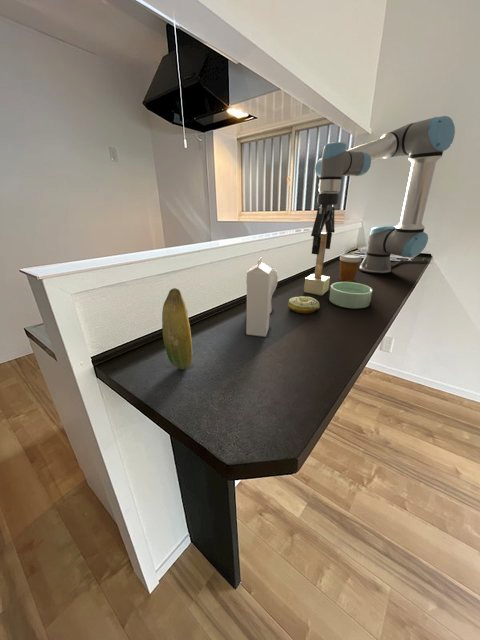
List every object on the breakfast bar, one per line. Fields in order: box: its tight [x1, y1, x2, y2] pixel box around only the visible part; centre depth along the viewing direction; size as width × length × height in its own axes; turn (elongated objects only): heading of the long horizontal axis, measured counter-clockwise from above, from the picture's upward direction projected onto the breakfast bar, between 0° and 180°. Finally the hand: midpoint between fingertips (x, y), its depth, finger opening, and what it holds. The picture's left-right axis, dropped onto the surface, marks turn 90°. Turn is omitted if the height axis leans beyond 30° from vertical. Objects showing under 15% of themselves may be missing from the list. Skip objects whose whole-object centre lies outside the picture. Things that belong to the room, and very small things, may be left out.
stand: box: [303, 273, 331, 296], centre depth 112 cm, size 8×8×6 cm
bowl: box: [328, 281, 374, 309], centre depth 100 cm, size 15×15×6 cm
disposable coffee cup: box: [339, 253, 362, 282], centre depth 125 cm, size 10×10×12 cm
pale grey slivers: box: [245, 266, 279, 314], centre depth 91 cm, size 11×11×15 cm
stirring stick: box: [314, 232, 327, 279], centre depth 108 cm, size 2×2×24 cm
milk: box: [245, 256, 273, 338], centre depth 75 cm, size 6×6×22 cm
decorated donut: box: [288, 295, 320, 314], centre depth 95 cm, size 10×11×4 cm
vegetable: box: [161, 287, 193, 370], centre depth 58 cm, size 6×6×20 cm
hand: (321, 251), depth 106 cm, fingers open, 13 cm apart
